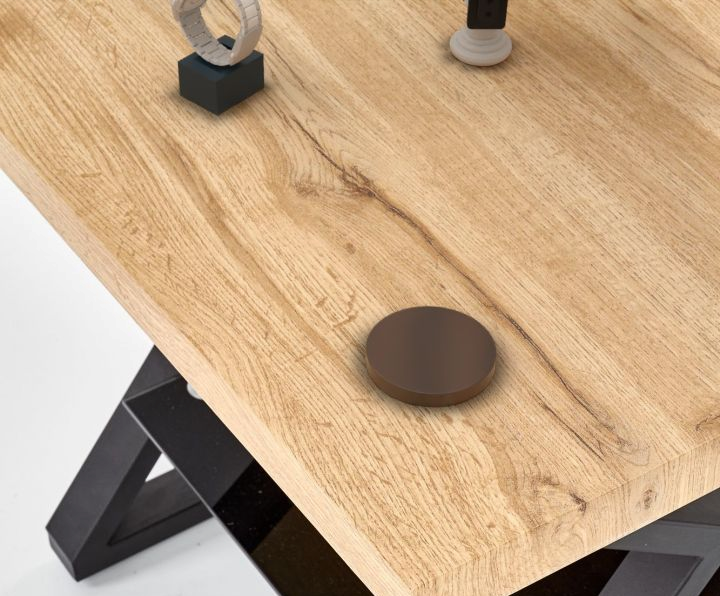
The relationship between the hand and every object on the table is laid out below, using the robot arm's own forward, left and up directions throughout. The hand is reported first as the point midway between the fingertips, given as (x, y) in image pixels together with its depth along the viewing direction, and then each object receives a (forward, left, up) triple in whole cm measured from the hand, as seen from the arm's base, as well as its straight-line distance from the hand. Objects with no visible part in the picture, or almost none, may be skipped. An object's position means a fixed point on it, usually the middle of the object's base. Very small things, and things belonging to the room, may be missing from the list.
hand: (483, 12), depth 132 cm
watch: (+22, +6, -4) cm, 23 cm away
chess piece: (0, 0, -4) cm, 4 cm away
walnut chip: (+7, +39, -4) cm, 40 cm away
